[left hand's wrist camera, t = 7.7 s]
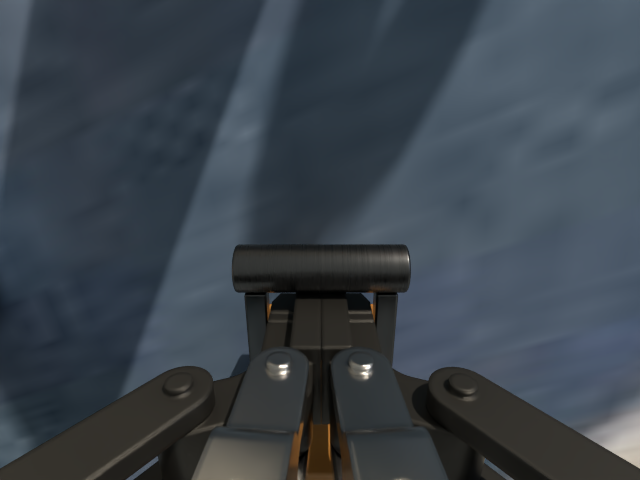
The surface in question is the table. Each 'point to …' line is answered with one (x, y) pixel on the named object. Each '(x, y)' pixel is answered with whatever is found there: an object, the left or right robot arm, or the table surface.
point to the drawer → (321, 277)
